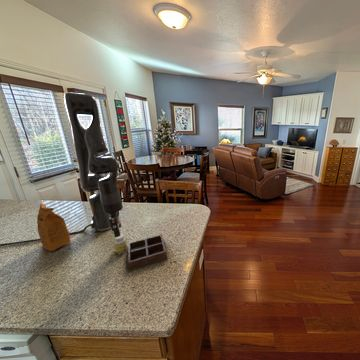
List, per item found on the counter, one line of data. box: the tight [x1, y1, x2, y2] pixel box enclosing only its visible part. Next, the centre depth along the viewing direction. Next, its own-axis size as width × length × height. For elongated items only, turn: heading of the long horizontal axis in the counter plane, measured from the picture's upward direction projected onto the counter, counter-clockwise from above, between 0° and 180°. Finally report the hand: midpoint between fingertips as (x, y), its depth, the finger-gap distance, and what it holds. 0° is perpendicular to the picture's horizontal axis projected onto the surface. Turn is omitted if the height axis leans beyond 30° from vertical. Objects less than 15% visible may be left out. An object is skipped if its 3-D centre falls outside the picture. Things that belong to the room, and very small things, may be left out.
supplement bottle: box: [113, 233, 128, 255], centre depth 92 cm, size 5×5×8 cm
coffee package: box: [36, 203, 72, 252], centre depth 94 cm, size 10×12×22 cm
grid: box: [127, 234, 168, 271], centre depth 90 cm, size 16×16×4 cm
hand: (118, 231), depth 90 cm, fingers open, 8 cm apart
